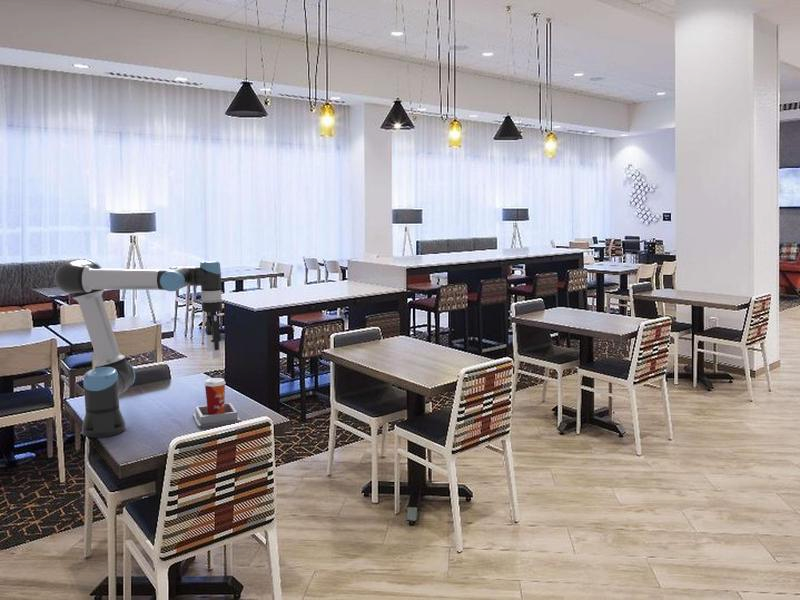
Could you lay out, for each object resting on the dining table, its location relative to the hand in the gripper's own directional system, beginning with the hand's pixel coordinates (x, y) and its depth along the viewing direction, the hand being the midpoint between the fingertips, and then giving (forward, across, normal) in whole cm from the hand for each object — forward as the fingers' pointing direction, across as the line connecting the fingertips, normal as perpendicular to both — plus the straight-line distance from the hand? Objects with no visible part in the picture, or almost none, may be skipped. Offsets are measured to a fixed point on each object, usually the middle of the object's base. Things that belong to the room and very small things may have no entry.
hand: (213, 354), depth 264 cm
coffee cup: (+26, 0, 0) cm, 26 cm away
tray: (+26, 0, 0) cm, 26 cm away
